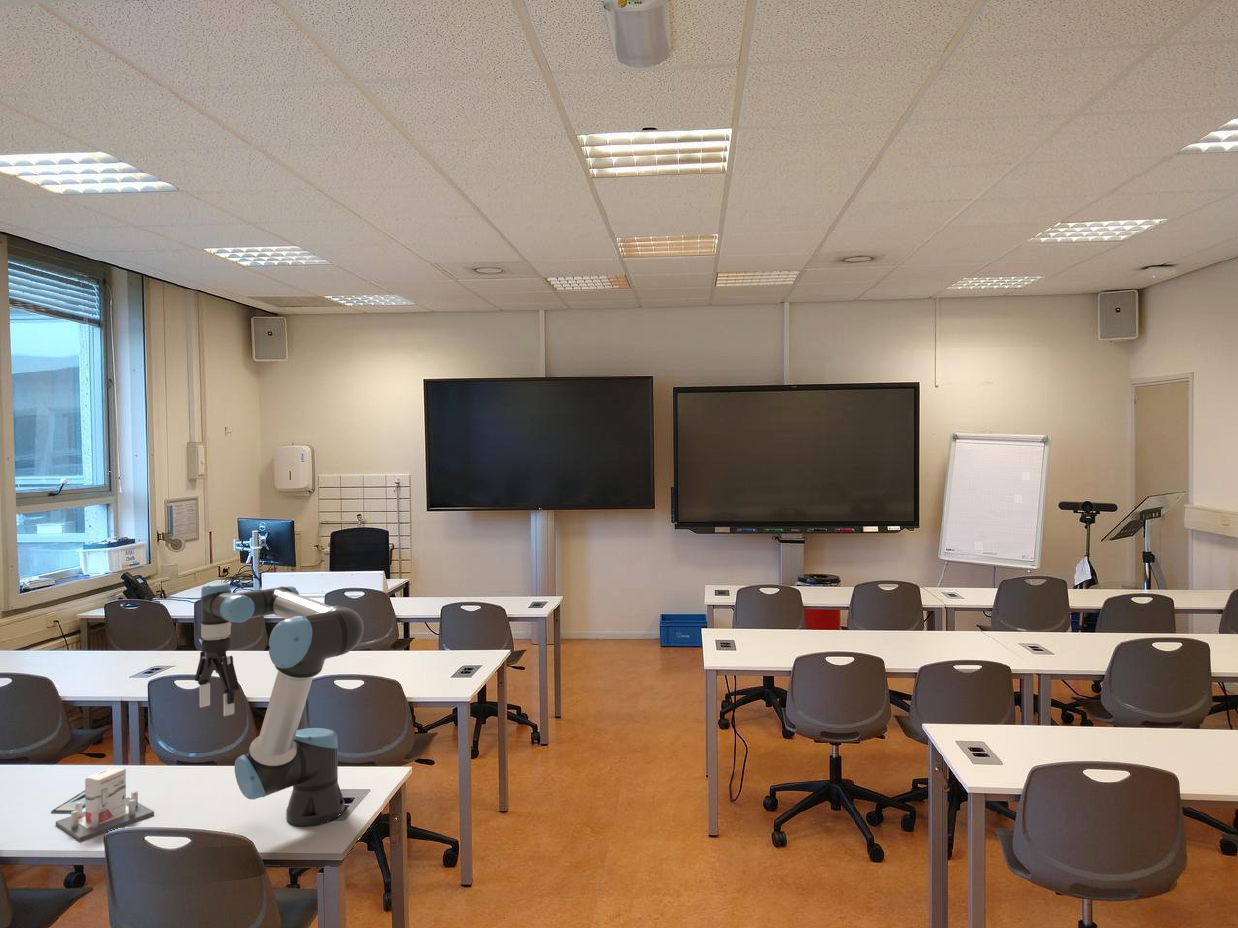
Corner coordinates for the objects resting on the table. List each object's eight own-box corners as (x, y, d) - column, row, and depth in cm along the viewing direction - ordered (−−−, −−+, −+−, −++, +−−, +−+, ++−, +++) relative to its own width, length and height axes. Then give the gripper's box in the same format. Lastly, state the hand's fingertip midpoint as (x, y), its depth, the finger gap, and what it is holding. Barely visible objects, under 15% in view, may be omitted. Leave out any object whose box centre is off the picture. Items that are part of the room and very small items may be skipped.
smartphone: (48, 811, 214) (87, 788, 229) (49, 815, 214) (87, 791, 229) (74, 812, 214) (111, 788, 229) (74, 815, 214) (111, 791, 229)
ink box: (97, 823, 205) (97, 780, 205) (84, 821, 206) (83, 778, 206) (127, 809, 213) (126, 767, 213) (113, 807, 214) (113, 765, 214)
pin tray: (154, 814, 212) (153, 796, 212) (79, 841, 198) (79, 822, 198) (128, 800, 222) (128, 783, 222) (55, 824, 207) (55, 806, 207)
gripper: (252, 639, 216) (252, 714, 216) (207, 629, 230) (208, 699, 230) (225, 645, 209) (226, 722, 209) (181, 634, 224) (182, 706, 224)
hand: (216, 710), depth 220 cm, fingers open, 13 cm apart
